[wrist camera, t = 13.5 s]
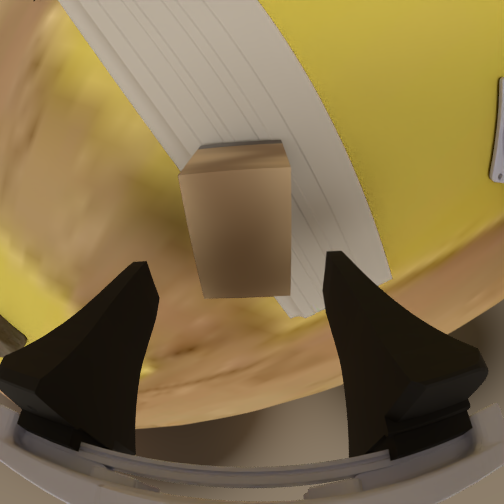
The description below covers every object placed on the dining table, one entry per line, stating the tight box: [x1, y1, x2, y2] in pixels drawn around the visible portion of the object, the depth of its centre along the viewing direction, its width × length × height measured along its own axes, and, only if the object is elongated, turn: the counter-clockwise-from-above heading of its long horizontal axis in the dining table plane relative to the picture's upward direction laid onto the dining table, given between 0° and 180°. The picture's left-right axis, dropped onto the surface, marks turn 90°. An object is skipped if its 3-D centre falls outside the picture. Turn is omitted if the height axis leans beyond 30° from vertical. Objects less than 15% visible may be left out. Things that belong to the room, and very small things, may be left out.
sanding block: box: [178, 140, 291, 299], centre depth 13 cm, size 4×6×4 cm, turn 4°
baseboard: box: [34, 0, 392, 318], centre depth 13 cm, size 30×3×10 cm
